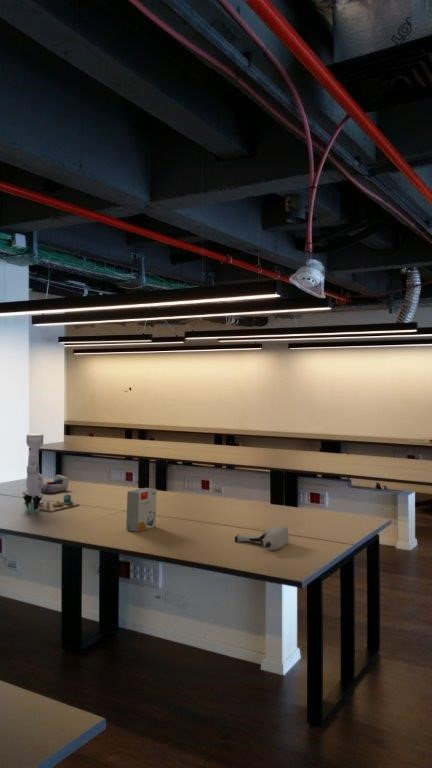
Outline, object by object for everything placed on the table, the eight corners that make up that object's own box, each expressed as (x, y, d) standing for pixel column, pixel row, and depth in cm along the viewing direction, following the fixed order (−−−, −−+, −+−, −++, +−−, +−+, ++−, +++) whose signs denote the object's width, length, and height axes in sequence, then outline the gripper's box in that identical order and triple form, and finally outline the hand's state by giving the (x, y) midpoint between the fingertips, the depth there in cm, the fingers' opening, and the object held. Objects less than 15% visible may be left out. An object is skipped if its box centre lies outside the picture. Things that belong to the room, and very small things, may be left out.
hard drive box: (137, 532, 289) (137, 493, 289) (125, 530, 293) (126, 491, 293) (156, 526, 302) (157, 488, 302) (145, 524, 306) (145, 487, 306)
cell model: (71, 475, 402) (48, 479, 385) (71, 490, 402) (48, 495, 386) (58, 473, 409) (35, 477, 392) (58, 488, 409) (35, 493, 393)
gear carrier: (51, 512, 332) (51, 500, 332) (35, 509, 339) (35, 498, 339) (79, 505, 352) (79, 494, 352) (63, 503, 359) (64, 492, 359)
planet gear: (22, 512, 331) (22, 503, 331) (32, 510, 338) (32, 501, 338) (31, 514, 327) (31, 504, 327) (42, 511, 334) (42, 502, 334)
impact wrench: (222, 543, 263) (273, 535, 253) (239, 531, 284) (287, 524, 274) (226, 560, 262) (277, 554, 253) (242, 548, 283) (291, 541, 274)
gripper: (18, 484, 333) (18, 508, 332) (36, 487, 325) (35, 511, 325) (28, 483, 339) (27, 506, 339) (45, 485, 331) (45, 509, 331)
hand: (32, 508), depth 332 cm, fingers open, 5 cm apart
